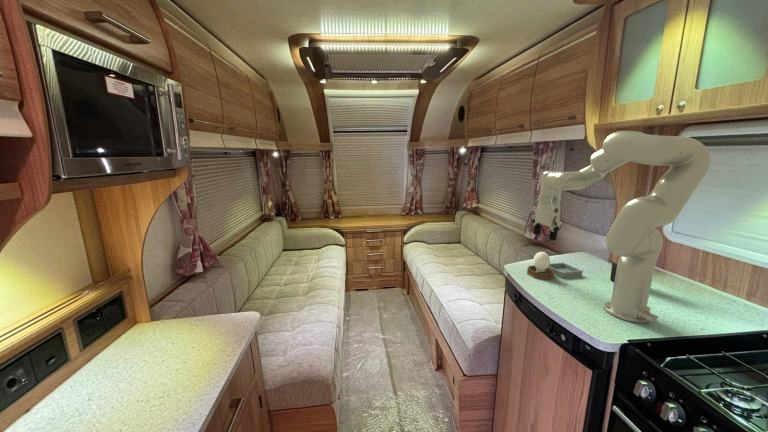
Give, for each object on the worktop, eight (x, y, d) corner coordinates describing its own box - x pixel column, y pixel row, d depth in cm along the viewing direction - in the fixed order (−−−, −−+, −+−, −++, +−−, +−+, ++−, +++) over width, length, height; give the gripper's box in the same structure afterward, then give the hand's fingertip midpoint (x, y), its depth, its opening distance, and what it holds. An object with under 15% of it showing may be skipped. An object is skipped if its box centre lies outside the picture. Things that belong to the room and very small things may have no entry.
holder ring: (558, 278, 133) (559, 273, 132) (538, 280, 130) (539, 274, 130) (541, 269, 143) (542, 264, 142) (522, 271, 140) (523, 266, 140)
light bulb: (551, 276, 135) (554, 253, 133) (541, 278, 132) (544, 255, 130) (538, 270, 141) (541, 249, 139) (528, 273, 138) (531, 250, 136)
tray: (581, 276, 135) (582, 270, 134) (561, 278, 133) (562, 272, 132) (562, 267, 145) (563, 262, 145) (543, 269, 143) (544, 264, 143)
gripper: (572, 202, 122) (566, 242, 126) (541, 196, 139) (537, 231, 142) (556, 203, 120) (551, 243, 124) (528, 197, 137) (524, 232, 140)
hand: (544, 237), depth 133 cm, fingers open, 9 cm apart
